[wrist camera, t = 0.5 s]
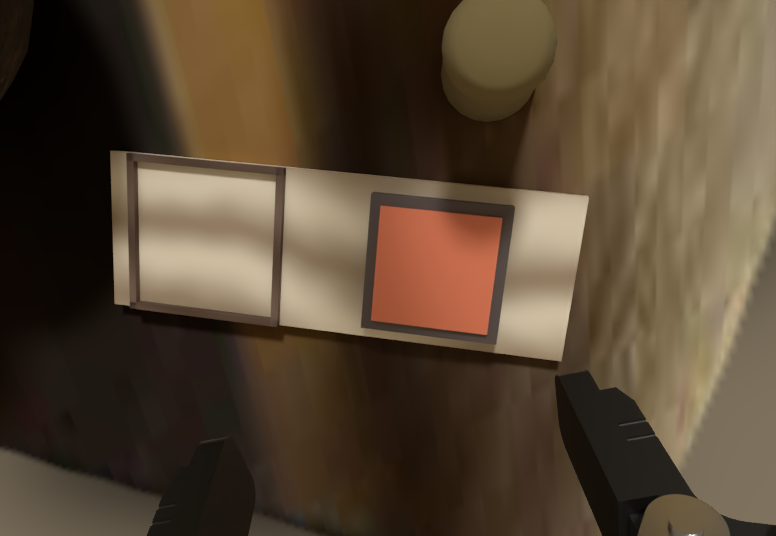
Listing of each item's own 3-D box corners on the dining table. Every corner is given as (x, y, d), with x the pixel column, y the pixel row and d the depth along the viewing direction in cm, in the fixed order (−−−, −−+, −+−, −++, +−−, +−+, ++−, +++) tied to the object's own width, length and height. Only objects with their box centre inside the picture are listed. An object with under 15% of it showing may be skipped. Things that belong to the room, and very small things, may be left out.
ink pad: (374, 191, 36) (370, 193, 34) (513, 205, 35) (515, 208, 33) (363, 322, 38) (359, 329, 37) (495, 338, 37) (496, 346, 36)
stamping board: (118, 150, 39) (105, 150, 37) (585, 195, 35) (590, 197, 34) (123, 300, 41) (110, 305, 40) (558, 355, 38) (562, 364, 36)
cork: (550, 102, 34) (589, 83, 24) (457, 135, 35) (455, 131, 25) (522, 4, 33) (550, -62, 23) (428, 42, 34) (411, -4, 24)
